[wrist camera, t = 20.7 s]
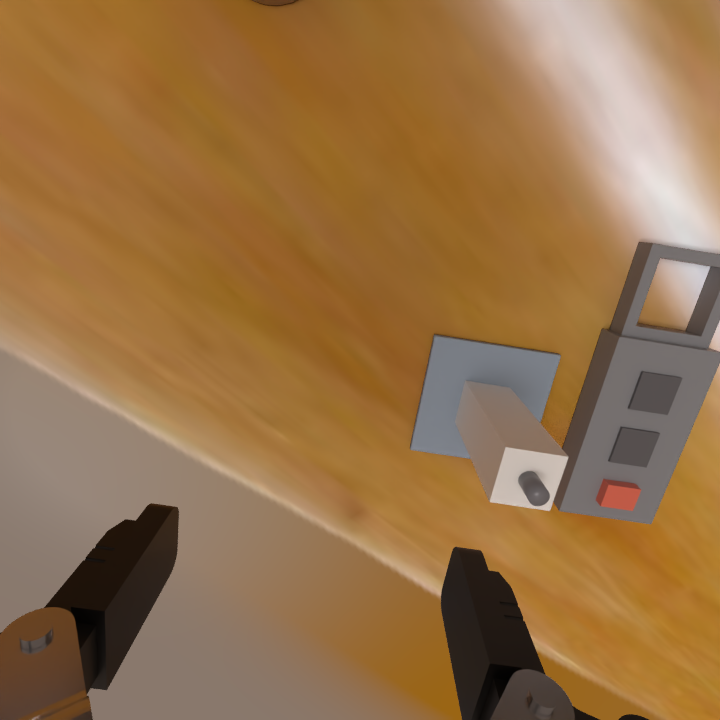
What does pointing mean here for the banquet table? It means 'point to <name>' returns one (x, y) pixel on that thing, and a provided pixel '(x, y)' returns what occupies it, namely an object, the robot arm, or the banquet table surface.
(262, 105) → the banquet table surface
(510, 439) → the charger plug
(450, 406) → the rubber mat
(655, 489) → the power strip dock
